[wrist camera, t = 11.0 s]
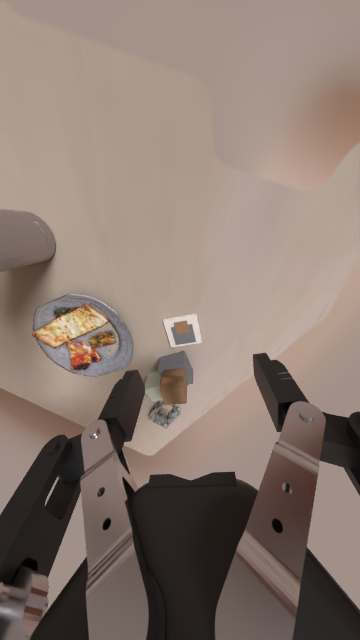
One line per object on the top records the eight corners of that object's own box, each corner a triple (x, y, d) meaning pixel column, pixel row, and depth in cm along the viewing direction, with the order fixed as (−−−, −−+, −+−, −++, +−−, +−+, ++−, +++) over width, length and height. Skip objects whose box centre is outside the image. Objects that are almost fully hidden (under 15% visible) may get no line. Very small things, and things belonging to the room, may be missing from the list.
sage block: (157, 384, 53) (153, 402, 48) (148, 373, 51) (143, 390, 46) (171, 379, 52) (169, 397, 46) (163, 368, 50) (159, 384, 44)
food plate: (75, 379, 54) (68, 388, 51) (19, 314, 44) (6, 320, 41) (149, 356, 49) (146, 365, 46) (103, 278, 39) (95, 282, 36)
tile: (171, 346, 46) (171, 348, 45) (163, 319, 42) (162, 321, 42) (201, 341, 45) (202, 343, 44) (196, 313, 41) (196, 315, 40)
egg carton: (163, 392, 55) (161, 404, 51) (183, 402, 56) (183, 414, 53) (148, 410, 59) (145, 422, 56) (167, 419, 61) (165, 431, 57)
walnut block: (168, 384, 46) (165, 405, 40) (163, 370, 44) (159, 389, 38) (187, 382, 45) (186, 403, 40) (183, 367, 43) (182, 387, 37)
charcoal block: (169, 375, 51) (167, 389, 47) (160, 356, 48) (156, 370, 44) (192, 369, 49) (193, 383, 45) (184, 350, 47) (183, 363, 42)
